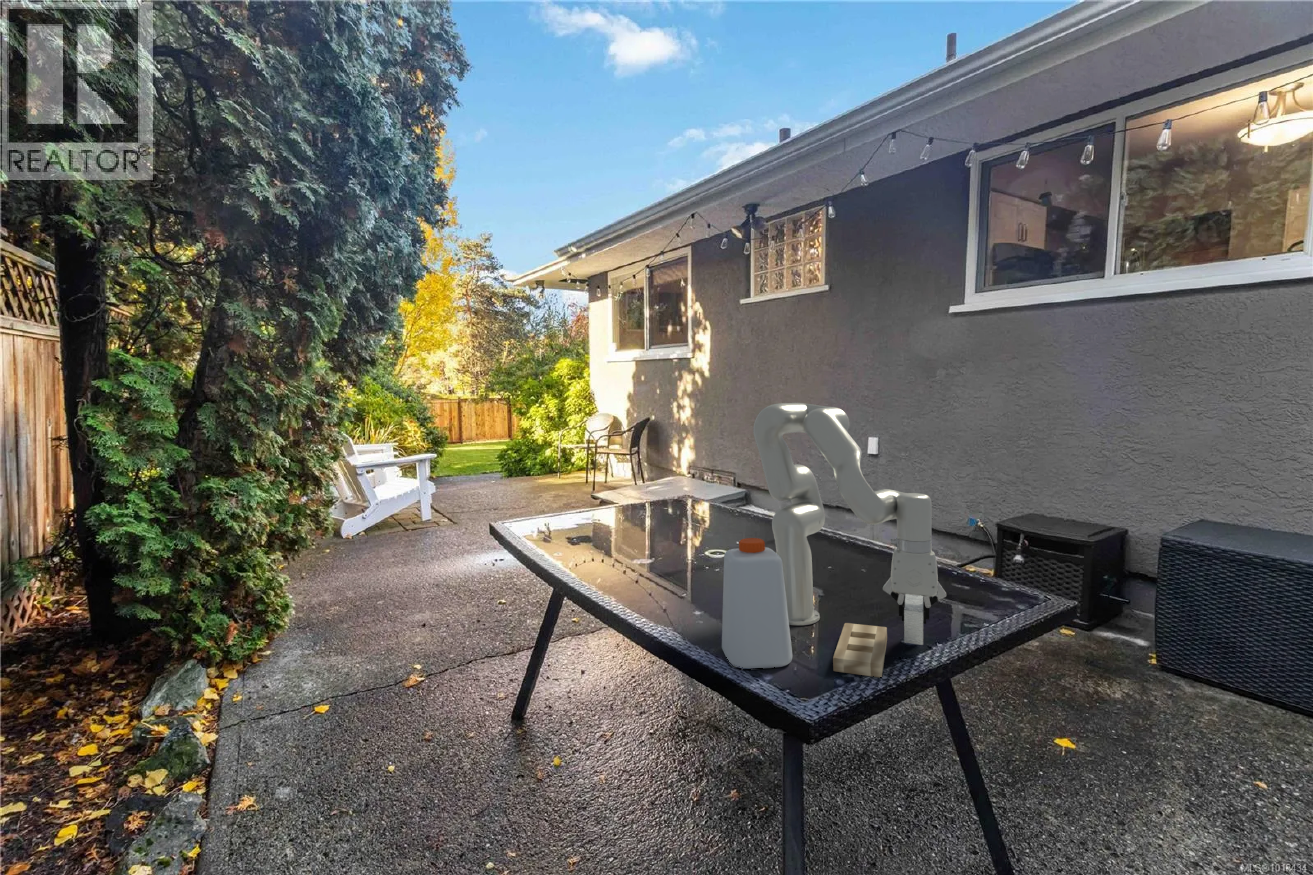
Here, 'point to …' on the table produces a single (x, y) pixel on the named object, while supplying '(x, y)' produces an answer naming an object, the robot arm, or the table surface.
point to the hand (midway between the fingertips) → (913, 619)
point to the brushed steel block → (913, 619)
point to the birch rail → (861, 650)
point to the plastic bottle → (755, 607)
